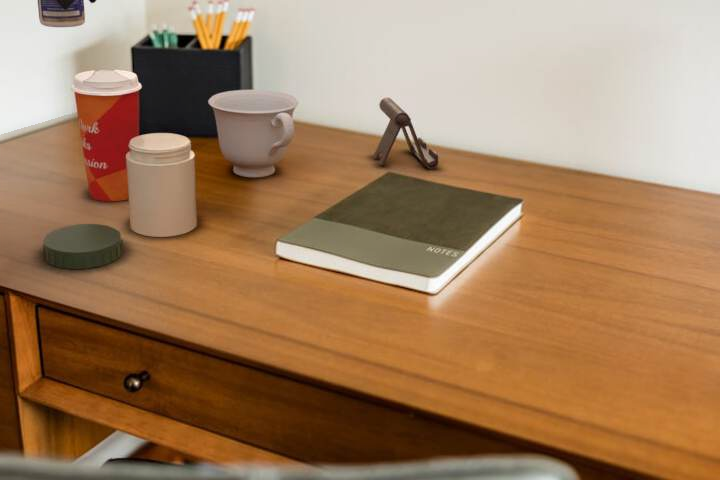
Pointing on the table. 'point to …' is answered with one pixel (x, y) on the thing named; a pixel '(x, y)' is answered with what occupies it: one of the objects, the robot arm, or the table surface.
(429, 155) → the tablet stand
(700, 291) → the table surface
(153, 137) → the jar
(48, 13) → the pill bottle
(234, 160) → the teacup
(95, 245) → the jar lid
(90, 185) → the coffee cup
